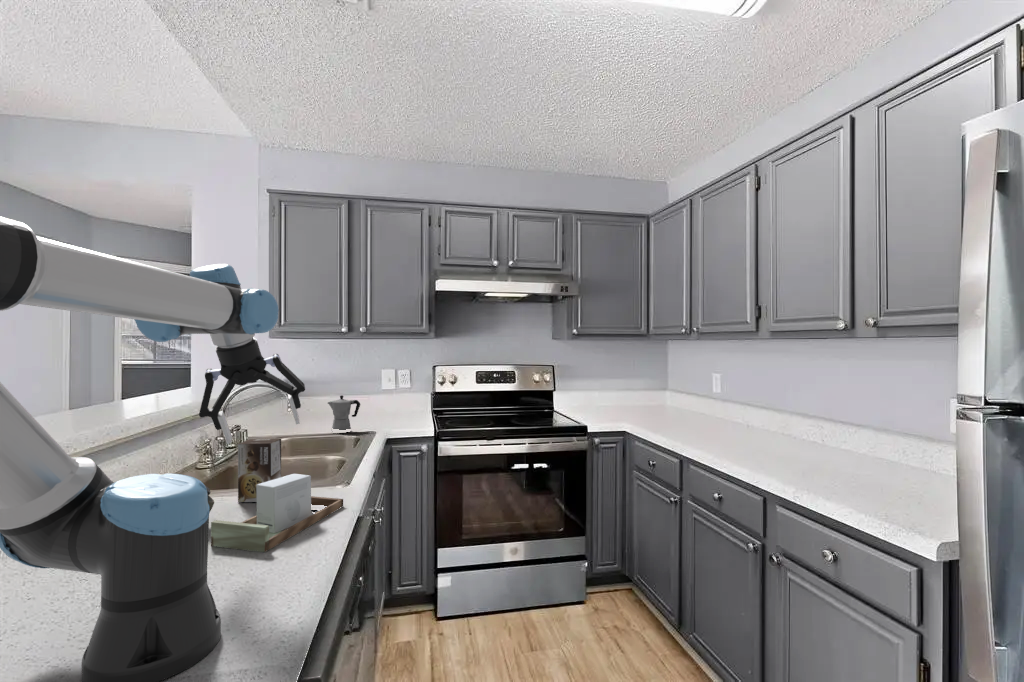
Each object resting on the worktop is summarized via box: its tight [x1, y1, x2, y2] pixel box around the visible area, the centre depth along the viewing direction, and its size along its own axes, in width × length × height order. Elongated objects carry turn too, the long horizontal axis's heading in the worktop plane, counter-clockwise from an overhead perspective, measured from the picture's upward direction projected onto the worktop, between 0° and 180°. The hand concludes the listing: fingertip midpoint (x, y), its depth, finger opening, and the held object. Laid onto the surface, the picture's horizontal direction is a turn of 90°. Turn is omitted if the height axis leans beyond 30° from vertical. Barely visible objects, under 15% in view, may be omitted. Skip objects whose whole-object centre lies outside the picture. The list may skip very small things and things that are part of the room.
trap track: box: [210, 495, 344, 553], centre depth 110 cm, size 28×13×5 cm, turn 167°
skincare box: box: [256, 473, 312, 533], centre depth 110 cm, size 10×6×10 cm, turn 155°
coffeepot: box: [327, 395, 361, 430], centre depth 229 cm, size 15×9×18 cm, turn 100°
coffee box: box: [237, 438, 282, 503], centre depth 128 cm, size 9×6×16 cm
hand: (264, 430), depth 102 cm, fingers open, 13 cm apart
